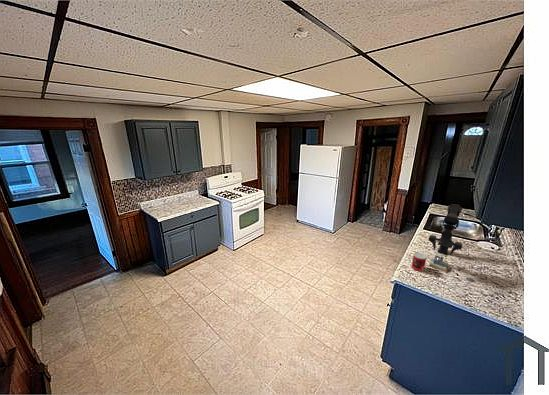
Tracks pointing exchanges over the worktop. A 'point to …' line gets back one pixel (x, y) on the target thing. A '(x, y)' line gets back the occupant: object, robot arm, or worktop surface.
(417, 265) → the canned food
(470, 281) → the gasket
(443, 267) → the stand
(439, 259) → the housing
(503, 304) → the worktop surface
